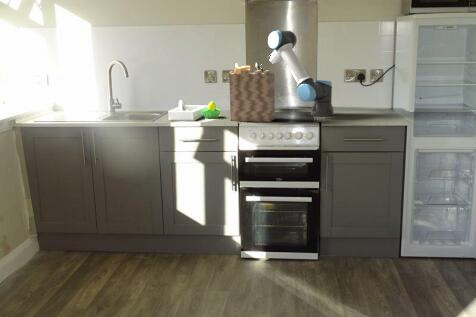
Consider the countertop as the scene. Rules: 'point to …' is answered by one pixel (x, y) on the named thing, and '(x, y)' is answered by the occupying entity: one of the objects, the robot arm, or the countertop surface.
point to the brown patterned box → (252, 96)
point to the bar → (241, 69)
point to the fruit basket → (211, 111)
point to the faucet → (181, 104)
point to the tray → (187, 113)
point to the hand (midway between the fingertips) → (246, 64)
